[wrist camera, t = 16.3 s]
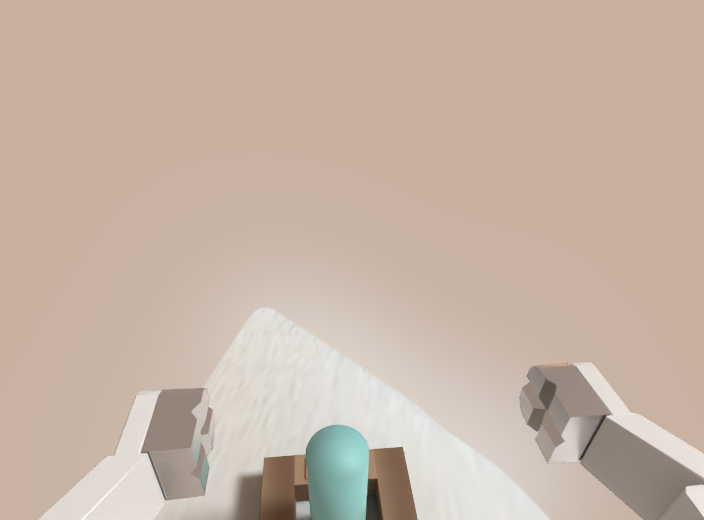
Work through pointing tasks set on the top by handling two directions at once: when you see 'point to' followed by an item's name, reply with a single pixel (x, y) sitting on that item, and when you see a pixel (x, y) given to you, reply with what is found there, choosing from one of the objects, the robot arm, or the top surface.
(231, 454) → the top surface
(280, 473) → the hole plate
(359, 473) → the teal peg
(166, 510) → the top surface
